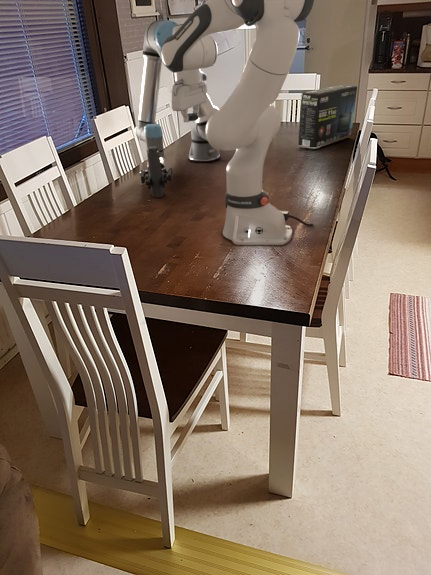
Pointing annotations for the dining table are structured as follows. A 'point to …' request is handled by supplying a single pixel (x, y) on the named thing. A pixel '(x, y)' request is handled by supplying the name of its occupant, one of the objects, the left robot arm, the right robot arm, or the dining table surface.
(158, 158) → the dark grey cylinder
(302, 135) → the router box
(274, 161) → the dining table surface
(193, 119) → the lid
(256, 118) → the right robot arm
